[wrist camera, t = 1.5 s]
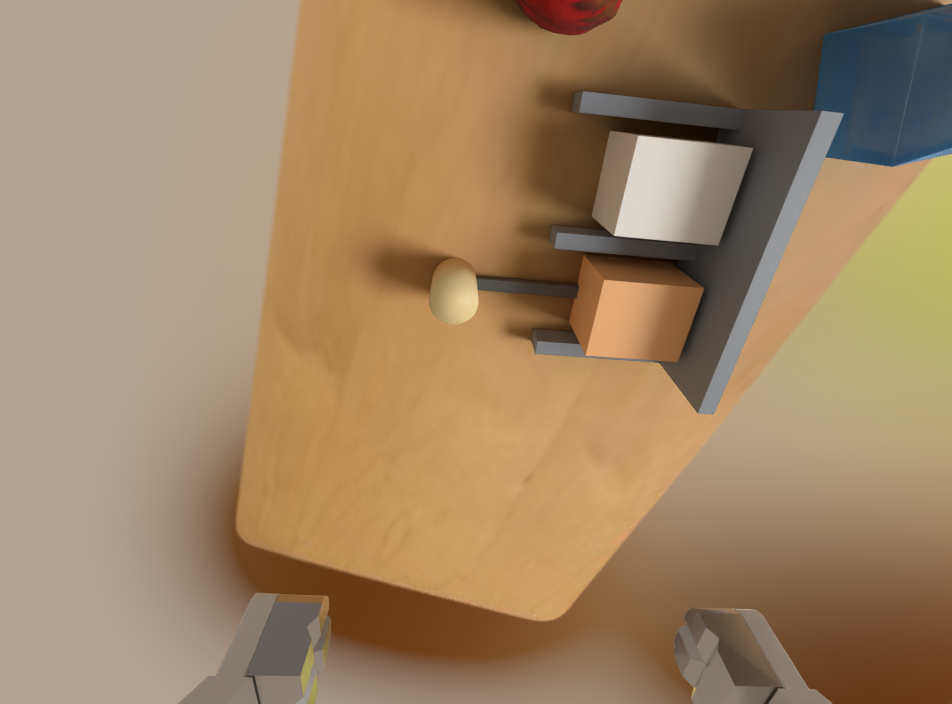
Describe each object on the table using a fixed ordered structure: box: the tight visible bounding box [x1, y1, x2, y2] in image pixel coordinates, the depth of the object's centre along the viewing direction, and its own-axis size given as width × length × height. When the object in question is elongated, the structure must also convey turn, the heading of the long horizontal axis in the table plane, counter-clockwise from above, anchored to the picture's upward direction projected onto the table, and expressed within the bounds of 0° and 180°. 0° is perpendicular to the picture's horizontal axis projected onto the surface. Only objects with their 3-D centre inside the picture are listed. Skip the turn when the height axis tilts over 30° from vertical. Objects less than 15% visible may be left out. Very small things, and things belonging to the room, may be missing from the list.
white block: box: [592, 131, 753, 245], centre depth 26 cm, size 5×6×5 cm
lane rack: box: [531, 91, 844, 414], centre depth 26 cm, size 16×10×8 cm, turn 175°
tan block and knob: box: [429, 255, 704, 362], centre depth 29 cm, size 5×16×5 cm, turn 85°
